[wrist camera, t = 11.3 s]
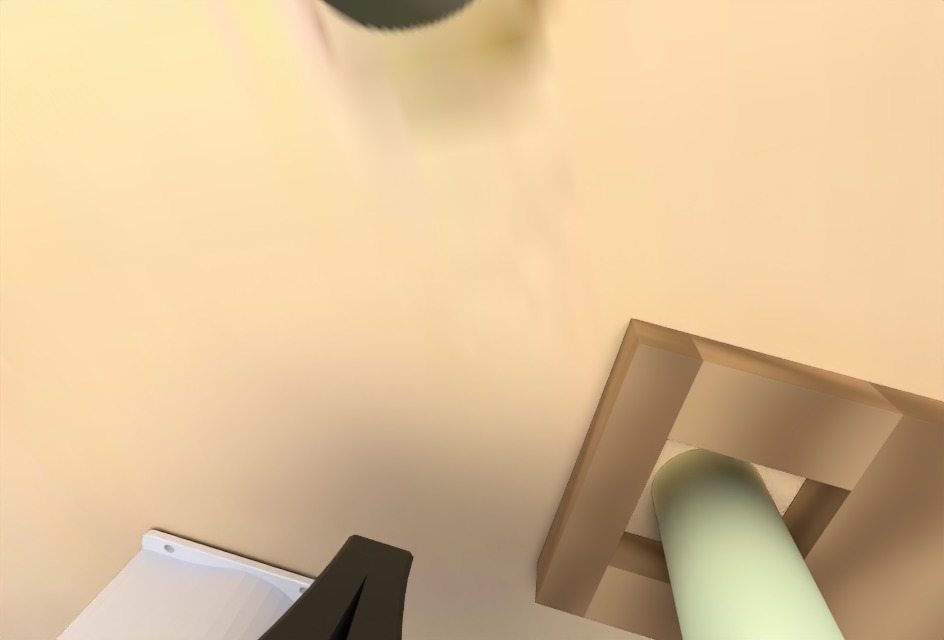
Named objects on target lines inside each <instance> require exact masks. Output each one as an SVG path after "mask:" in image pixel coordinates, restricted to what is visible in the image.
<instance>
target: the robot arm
mask: <svg viewBox="0 0 944 640" xmlns="http://www.w3.org/2000/svg"><path fill="white" fill-rule="evenodd" d="M412 561H413V556H412V554H411V553H410V552H409V551H406V550H403V549H400V548H397V547H393V546H390V545H387V544H384V543H381V542H378V541H374V540H371V539H368V538H365V537H362V536H358V535H353V536H350V537H349V538H348V540H347V541H346V543H345V544H344V545H343V547H342V548H341V549H340V551H339V552H338V553H337V555H336V556H335V557H334V558H333V560H332V561H331V562H330V563H329V565H328V566H327V567H326V568H325V569H324V571H323V572H322V573H321V574H320V575H319V576H318V577H317V579H316V580H314V579H311V578H307V577H304V576H301V575H298V574H295V573H291V572H288V571H285V570H282V569H279V568H275V567H272V566H269V565H266V564H263V563H259V562H256V561H253V560H250V559H246V558H243V557H240V556H237V555H234V554H230V553H227V552H224V551H221V550H218V549H214V548H211V547H208V546H205V545H202V544H198V543H195V542H192V541H189V540H186V539H182V538H179V537H176V536H173V535H170V534H166V533H163V532H160V531H157V530H148V531H147V532H146V533H145V534H144V535H143V536H142V549H141V550H140V551H139V552H138V553H137V554H136V555H135V556H134V557H133V558H132V560H131V561H130V562H129V563H128V564H127V565H126V566H125V567H124V568H123V569H122V570H121V571H120V572H119V573H118V574H117V575H116V576H115V578H114V579H113V580H112V581H111V582H110V583H109V584H108V585H107V586H106V587H105V588H104V589H103V590H102V591H101V592H100V593H99V594H98V596H97V597H96V598H95V599H94V600H93V601H92V602H91V603H90V604H89V605H88V606H87V607H86V608H85V609H84V610H83V611H82V612H81V614H80V615H79V616H78V617H77V618H76V619H75V620H74V621H73V622H72V623H71V624H70V625H69V626H68V627H67V628H66V629H65V630H64V632H63V633H62V634H61V635H60V636H59V637H58V638H57V639H56V640H402V622H403V611H404V601H405V593H406V586H407V581H408V576H409V572H410V568H411V565H412Z"/></svg>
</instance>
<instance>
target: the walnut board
mask: <svg viewBox="0 0 944 640" xmlns="http://www.w3.org/2000/svg"><path fill="white" fill-rule="evenodd" d="M667 439H670V440H673V441H677V442H680V443H684V444H687V445H691V446H695V447H698V448H702V449H705V450H709V451H712V452H716V453H719V454H723V455H727V456H730V457H734V458H737V459H741V460H744V461H748V462H751V463H755V464H758V465H762V466H766V467H769V468H773V469H776V470H780V471H783V472H787V473H790V474H794V475H797V476H801V477H805V478H807V480H806V482H805V483H804V485H803V486H802V488H801V489H800V491H799V493H798V494H797V496H796V497H795V499H794V501H793V502H792V504H791V505H790V507H789V509H788V510H787V512H786V513H785V515H784V516H783V518H782V519H783V521H784V523H785V525H786V526H787V528H788V530H789V532H790V534H791V536H792V538H793V540H794V542H795V544H796V546H797V548H798V550H799V552H800V554H801V556H802V558H803V560H804V562H805V563H806V565H807V567H808V569H809V571H810V573H811V575H812V577H813V579H814V581H815V583H816V585H817V587H818V589H819V591H820V593H821V595H822V597H823V598H824V600H825V602H826V604H827V606H828V608H829V610H830V612H831V614H832V616H833V618H834V620H835V622H836V624H837V626H838V628H839V630H840V632H841V633H842V635H843V637H844V639H845V640H944V402H941V401H938V400H934V399H930V398H926V397H923V396H919V395H915V394H911V393H908V392H904V391H900V390H897V389H893V388H889V387H885V386H882V385H878V384H874V383H870V382H867V381H863V380H859V379H856V378H852V377H848V376H844V375H841V374H837V373H833V372H829V371H826V370H822V369H818V368H815V367H811V366H807V365H803V364H800V363H796V362H792V361H789V360H785V359H781V358H777V357H774V356H770V355H766V354H762V353H759V352H755V351H751V350H748V349H744V348H740V347H736V346H733V345H729V344H725V343H721V342H718V341H714V340H710V339H707V338H703V337H699V336H695V335H692V334H688V333H684V332H680V331H677V330H673V329H669V328H666V327H662V326H658V325H654V324H651V323H647V322H643V321H640V320H636V319H631V321H630V324H629V326H628V329H627V332H626V334H625V337H624V339H623V342H622V345H621V347H620V350H619V352H618V355H617V358H616V360H615V363H614V365H613V368H612V371H611V373H610V376H609V378H608V381H607V384H606V386H605V389H604V391H603V394H602V397H601V399H600V402H599V404H598V407H597V410H596V412H595V415H594V417H593V420H592V423H591V425H590V428H589V430H588V433H587V436H586V438H585V441H584V443H583V446H582V449H581V451H580V454H579V456H578V459H577V462H576V464H575V467H574V469H573V472H572V475H571V477H570V480H569V482H568V485H567V488H566V490H565V493H564V495H563V498H562V501H561V503H560V506H559V508H558V511H557V514H556V516H555V519H554V521H553V524H552V527H551V529H550V532H549V534H548V537H547V540H546V542H545V545H544V547H543V550H542V553H541V555H540V558H539V560H538V565H537V581H536V597H535V603H538V604H541V605H544V606H548V607H551V608H554V609H557V610H561V611H564V612H567V613H570V614H574V615H577V616H580V617H583V618H587V619H590V620H593V621H596V622H600V623H603V624H606V625H610V626H613V627H616V628H619V629H623V630H626V631H629V632H632V633H636V634H639V635H642V636H645V637H649V638H652V639H655V640H683V638H682V633H681V628H680V624H679V619H678V614H677V610H676V605H675V600H674V596H673V591H672V587H671V582H670V577H669V573H668V568H667V563H666V559H665V554H664V549H663V545H662V543H661V542H657V541H654V540H650V539H647V538H644V537H640V536H637V535H633V534H630V533H627V532H624V530H625V528H626V526H627V524H628V522H629V520H630V517H631V515H632V513H633V511H634V509H635V507H636V505H637V502H638V500H639V498H640V496H641V494H642V492H643V490H644V487H645V485H646V483H647V481H648V479H649V477H650V475H651V472H652V470H653V468H654V466H655V464H656V462H657V459H658V457H659V455H660V453H661V451H662V449H663V447H664V444H665V442H666V440H667Z"/></svg>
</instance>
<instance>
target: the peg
mask: <svg viewBox="0 0 944 640" xmlns="http://www.w3.org/2000/svg"><path fill="white" fill-rule="evenodd" d="M652 498H653V503H654V507H655V512H656V517H657V521H658V526H659V531H660V535H661V540H662V545H663V549H664V554H665V559H666V563H667V568H668V573H669V577H670V582H671V587H672V591H673V596H674V600H675V605H676V610H677V614H678V619H679V624H680V628H681V633H682V638H683V640H845V639H844V637H843V635H842V633H841V632H840V630H839V628H838V626H837V624H836V622H835V620H834V618H833V616H832V614H831V612H830V610H829V608H828V606H827V604H826V602H825V600H824V598H823V597H822V595H821V593H820V591H819V589H818V587H817V585H816V583H815V581H814V579H813V577H812V575H811V573H810V571H809V569H808V567H807V565H806V563H805V562H804V560H803V558H802V556H801V554H800V552H799V550H798V548H797V546H796V544H795V542H794V540H793V538H792V536H791V534H790V532H789V530H788V528H787V526H786V525H785V523H784V521H783V519H782V517H781V515H780V513H779V511H778V509H777V507H776V505H775V503H774V501H773V499H772V497H771V495H770V493H769V491H768V490H767V488H766V486H765V484H764V482H763V480H762V478H761V476H760V474H759V472H758V471H757V469H756V468H755V467H754V466H753V465H752V464H751V463H750V462H748V461H744V460H741V459H737V458H734V457H730V456H727V455H723V454H719V453H716V452H712V451H709V450H705V449H696V450H691V451H688V452H684V453H682V454H680V455H677V456H676V457H674V458H672V459H671V460H669V461H668V462H667V463H665V464H664V465H663V466H662V467H661V469H660V470H659V471H658V473H657V474H656V476H655V478H654V481H653V485H652Z"/></svg>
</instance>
